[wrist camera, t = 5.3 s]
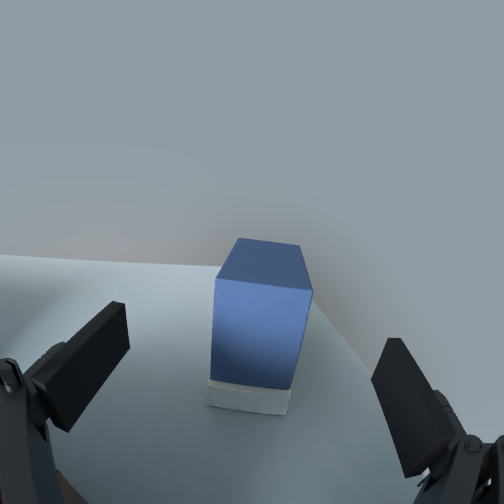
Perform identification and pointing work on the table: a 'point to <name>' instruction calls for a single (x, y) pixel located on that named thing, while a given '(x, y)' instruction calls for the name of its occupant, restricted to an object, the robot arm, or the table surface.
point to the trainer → (258, 326)
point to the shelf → (66, 492)
